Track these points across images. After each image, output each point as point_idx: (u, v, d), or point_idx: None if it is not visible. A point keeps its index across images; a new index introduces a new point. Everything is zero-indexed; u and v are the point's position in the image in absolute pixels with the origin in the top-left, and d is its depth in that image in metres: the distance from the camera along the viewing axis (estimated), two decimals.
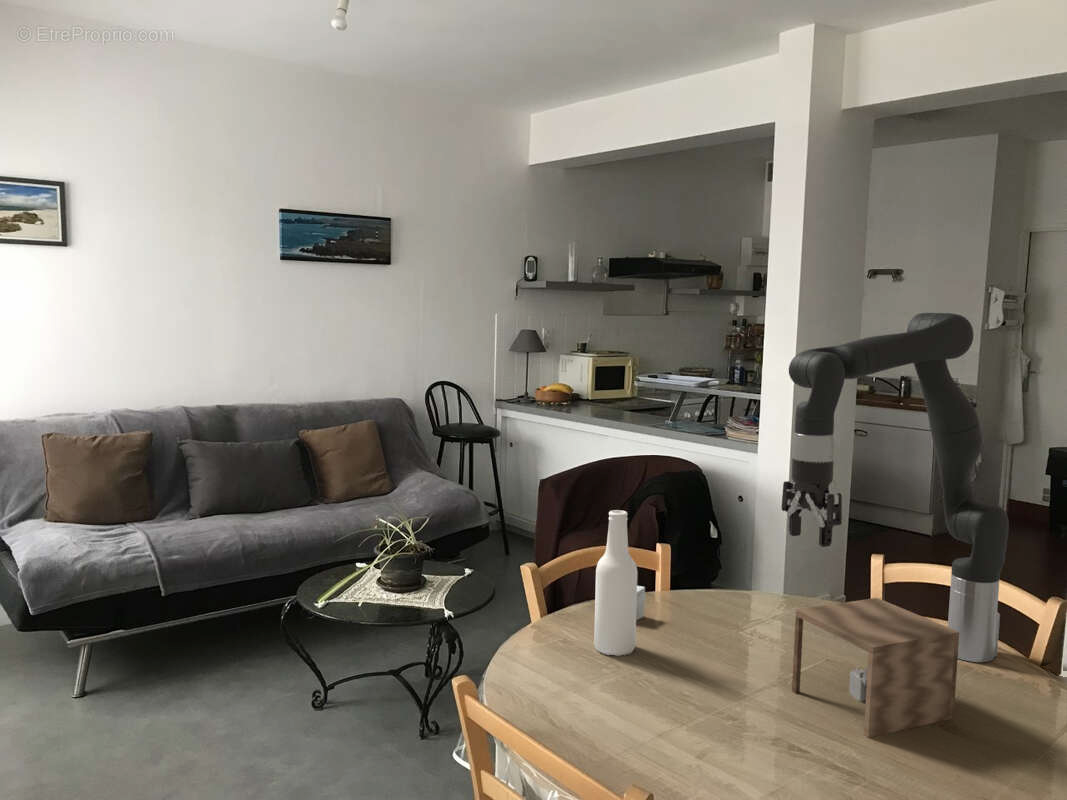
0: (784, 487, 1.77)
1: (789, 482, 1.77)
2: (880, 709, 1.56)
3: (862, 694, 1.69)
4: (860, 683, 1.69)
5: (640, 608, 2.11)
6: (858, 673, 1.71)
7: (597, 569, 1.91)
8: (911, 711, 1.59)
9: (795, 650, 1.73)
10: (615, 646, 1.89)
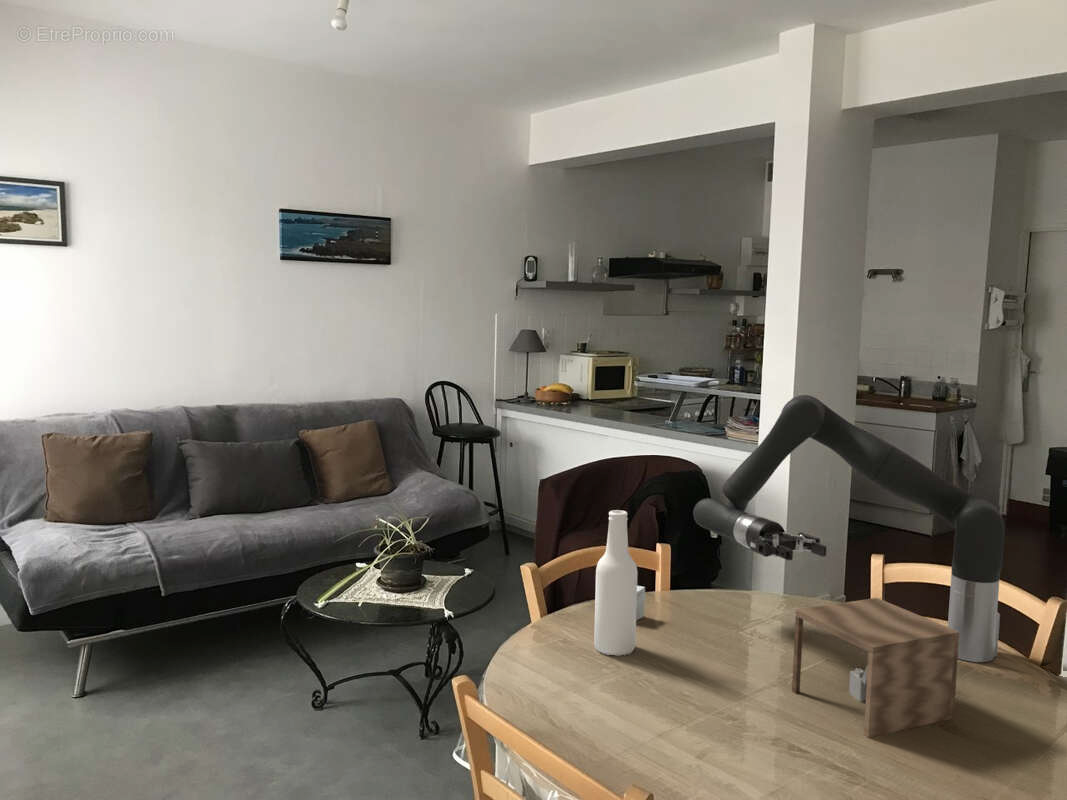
0: None
1: None
2: (880, 709, 1.56)
3: (862, 694, 1.69)
4: (860, 683, 1.69)
5: (640, 608, 2.11)
6: (858, 673, 1.71)
7: (597, 569, 1.91)
8: (911, 711, 1.59)
9: (795, 650, 1.73)
10: (615, 646, 1.89)
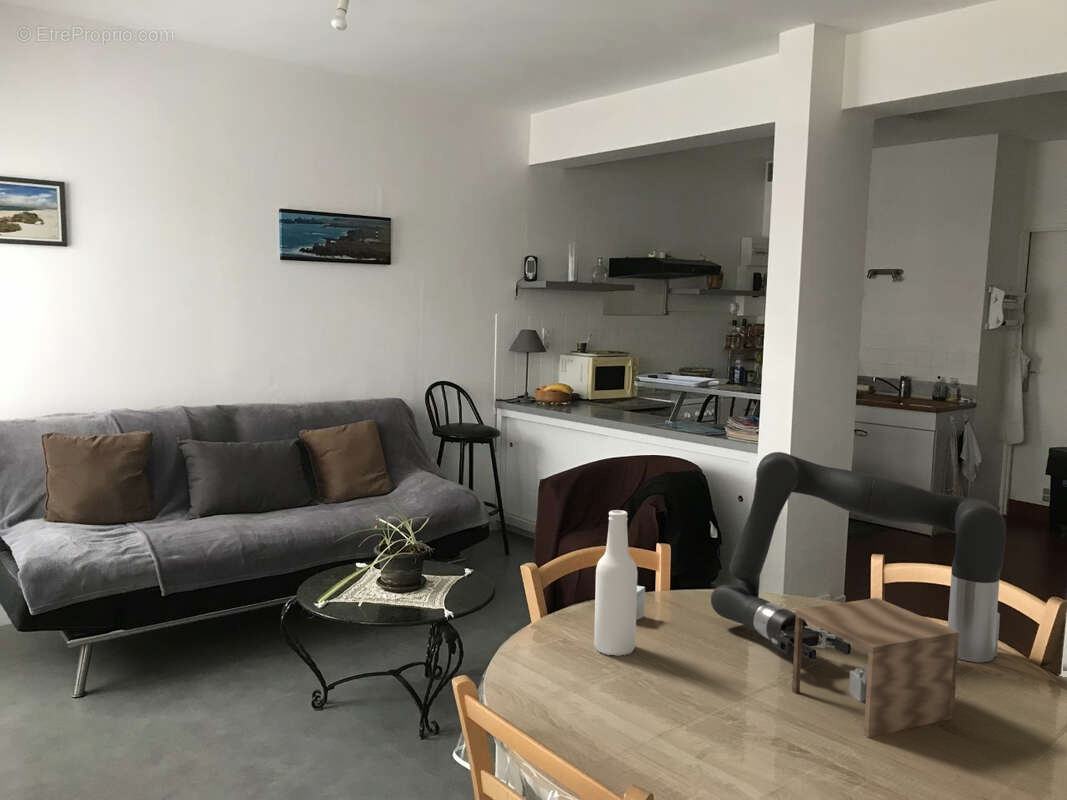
0: None
1: None
2: (880, 709, 1.56)
3: (861, 694, 1.69)
4: (860, 683, 1.69)
5: (640, 608, 2.11)
6: (858, 673, 1.71)
7: (597, 569, 1.91)
8: (911, 711, 1.59)
9: (795, 650, 1.73)
10: (615, 646, 1.89)
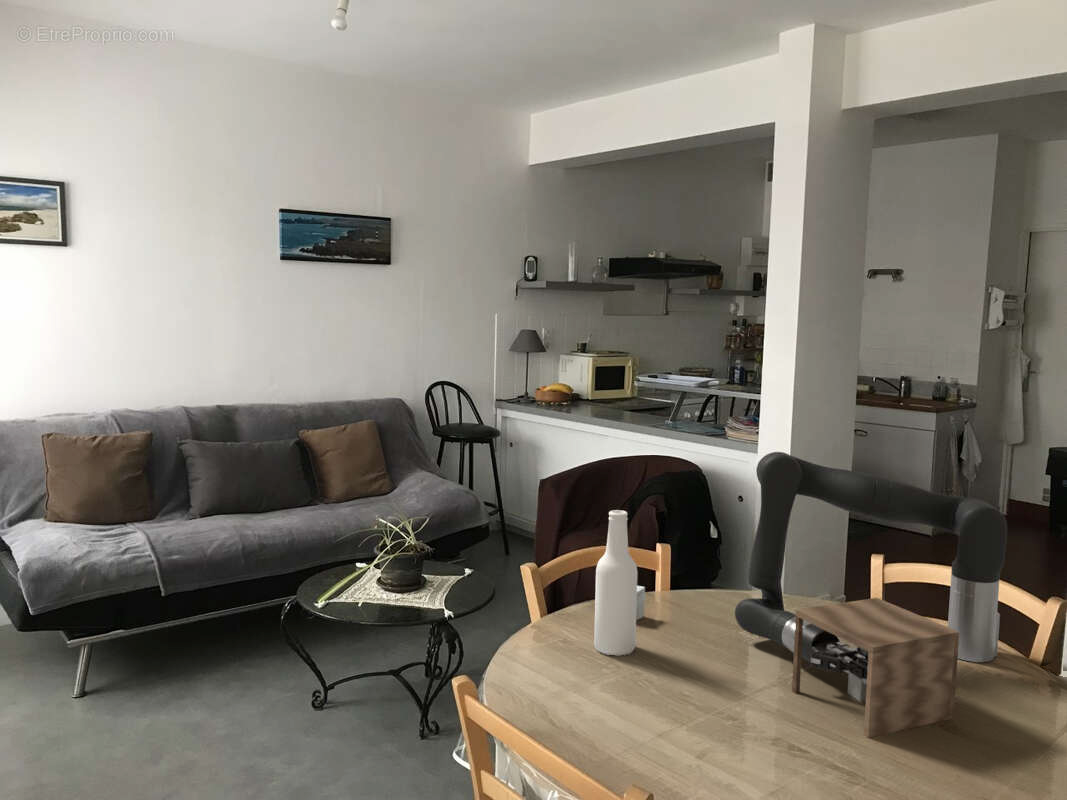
0: None
1: None
2: (880, 709, 1.56)
3: (862, 694, 1.69)
4: (860, 683, 1.69)
5: (640, 608, 2.11)
6: None
7: (597, 569, 1.91)
8: (911, 711, 1.59)
9: (795, 650, 1.73)
10: (615, 646, 1.89)
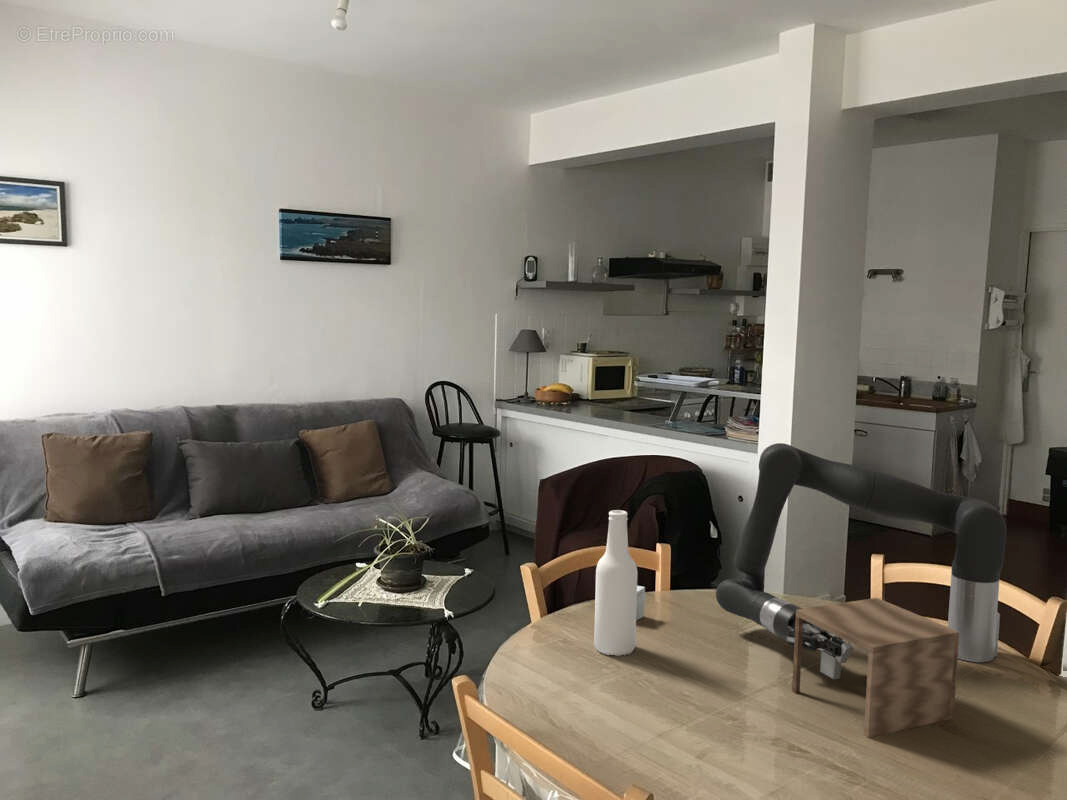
0: None
1: None
2: (880, 709, 1.56)
3: (835, 671, 1.76)
4: (834, 661, 1.76)
5: (640, 608, 2.11)
6: None
7: (597, 569, 1.91)
8: (911, 711, 1.59)
9: (795, 650, 1.73)
10: (615, 646, 1.89)
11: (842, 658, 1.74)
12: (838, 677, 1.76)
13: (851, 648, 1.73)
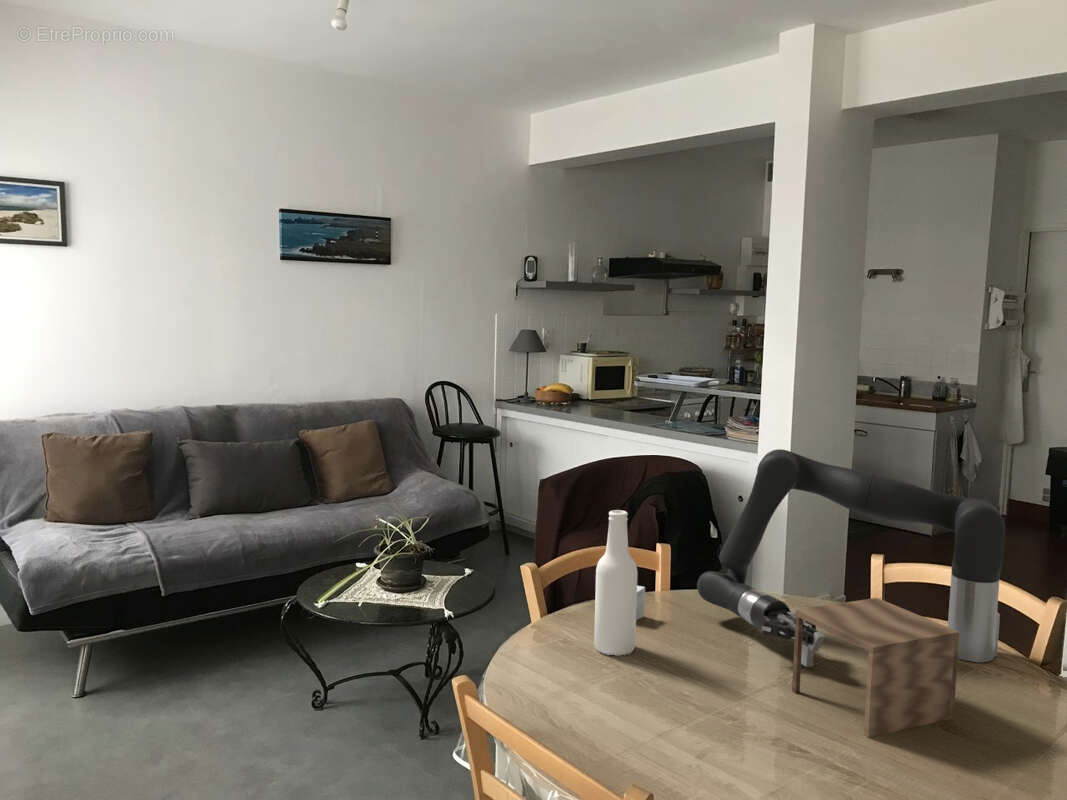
0: None
1: None
2: (880, 709, 1.56)
3: (808, 659, 1.83)
4: (807, 649, 1.83)
5: (640, 608, 2.11)
6: None
7: (597, 569, 1.91)
8: (911, 711, 1.59)
9: (795, 650, 1.73)
10: (615, 646, 1.89)
11: (814, 646, 1.81)
12: (811, 665, 1.84)
13: (823, 637, 1.80)
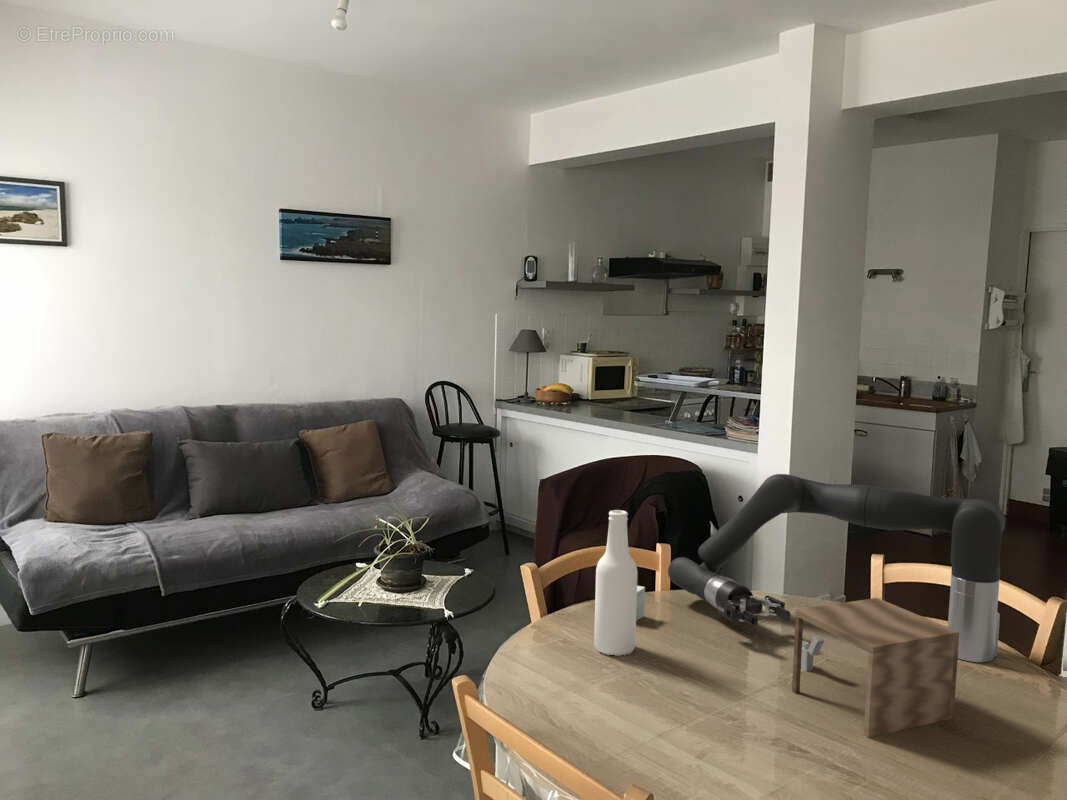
0: None
1: None
2: (880, 709, 1.56)
3: (808, 664, 1.83)
4: (806, 654, 1.83)
5: (640, 608, 2.11)
6: (803, 645, 1.84)
7: (597, 569, 1.91)
8: (911, 711, 1.59)
9: (795, 650, 1.73)
10: (615, 646, 1.89)
11: (814, 651, 1.81)
12: (811, 669, 1.84)
13: (822, 641, 1.80)
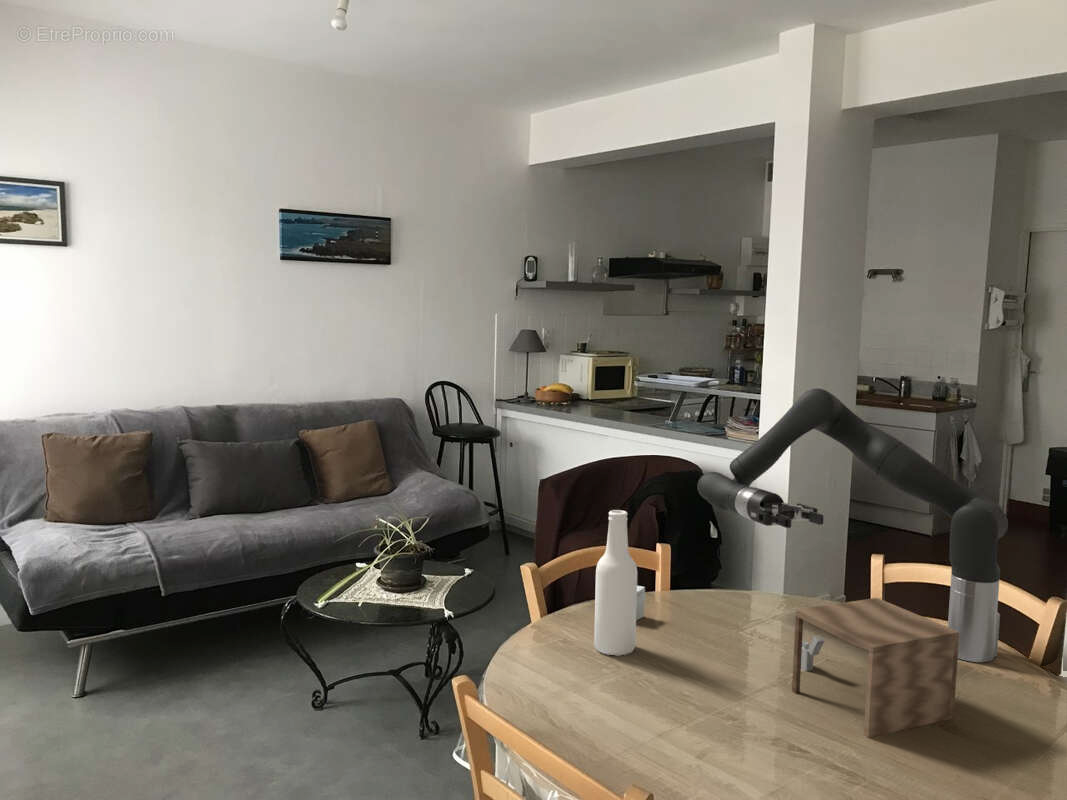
0: None
1: None
2: (880, 709, 1.56)
3: (808, 664, 1.83)
4: (806, 654, 1.83)
5: (640, 608, 2.11)
6: (803, 645, 1.84)
7: (597, 569, 1.91)
8: (911, 711, 1.59)
9: (795, 650, 1.73)
10: (615, 646, 1.89)
11: (814, 651, 1.81)
12: (811, 669, 1.84)
13: (822, 641, 1.80)
